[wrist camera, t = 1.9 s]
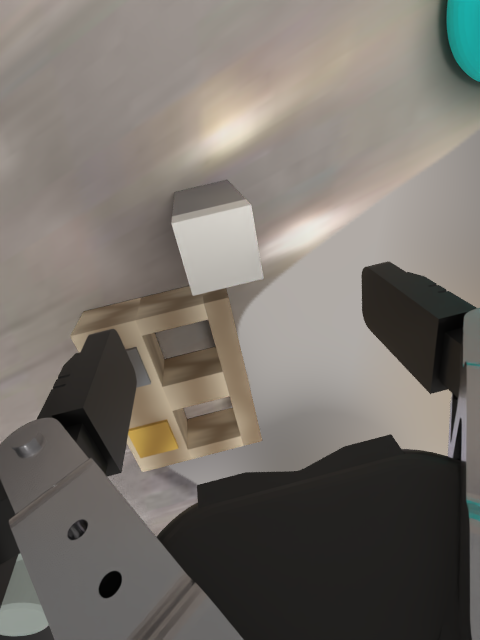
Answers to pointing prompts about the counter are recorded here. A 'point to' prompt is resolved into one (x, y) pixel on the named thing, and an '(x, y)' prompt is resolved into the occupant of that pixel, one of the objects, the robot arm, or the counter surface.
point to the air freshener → (21, 605)
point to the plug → (216, 237)
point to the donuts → (465, 34)
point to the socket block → (179, 376)
